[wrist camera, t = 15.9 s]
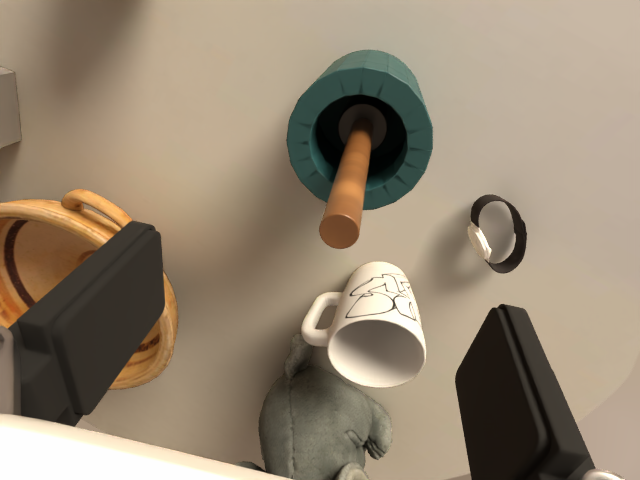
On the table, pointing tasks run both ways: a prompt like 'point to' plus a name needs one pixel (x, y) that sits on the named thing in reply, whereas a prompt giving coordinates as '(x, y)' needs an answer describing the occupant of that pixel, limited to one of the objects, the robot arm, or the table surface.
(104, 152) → the table surface
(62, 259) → the ceramic bowl
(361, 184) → the brush
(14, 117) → the perfume bottle
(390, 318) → the mug
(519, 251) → the watch
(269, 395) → the stuffed elephant
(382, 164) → the teal hollow cylinder
